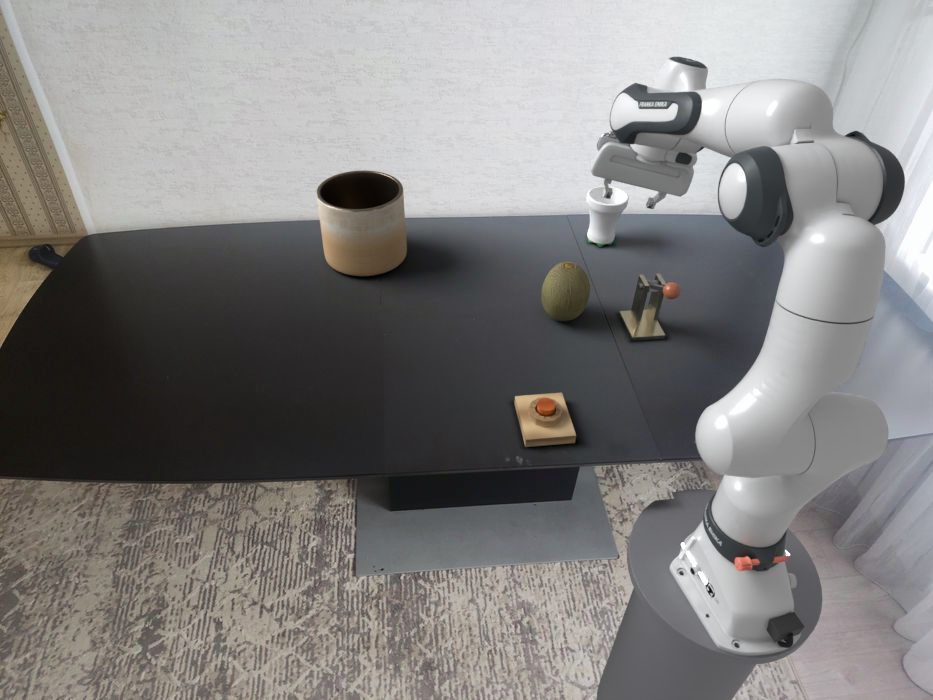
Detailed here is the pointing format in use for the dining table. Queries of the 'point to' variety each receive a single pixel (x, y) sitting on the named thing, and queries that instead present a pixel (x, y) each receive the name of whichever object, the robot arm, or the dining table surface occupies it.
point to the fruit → (565, 291)
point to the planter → (362, 222)
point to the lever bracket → (644, 312)
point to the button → (545, 407)
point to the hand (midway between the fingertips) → (627, 202)
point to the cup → (604, 214)
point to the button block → (544, 421)
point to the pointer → (665, 289)
